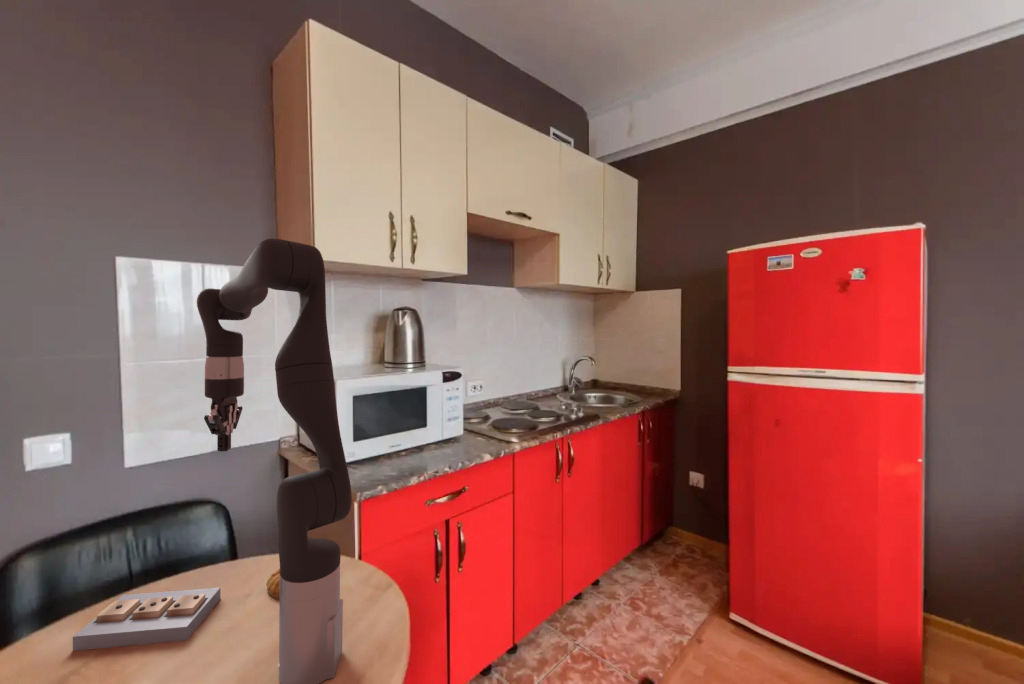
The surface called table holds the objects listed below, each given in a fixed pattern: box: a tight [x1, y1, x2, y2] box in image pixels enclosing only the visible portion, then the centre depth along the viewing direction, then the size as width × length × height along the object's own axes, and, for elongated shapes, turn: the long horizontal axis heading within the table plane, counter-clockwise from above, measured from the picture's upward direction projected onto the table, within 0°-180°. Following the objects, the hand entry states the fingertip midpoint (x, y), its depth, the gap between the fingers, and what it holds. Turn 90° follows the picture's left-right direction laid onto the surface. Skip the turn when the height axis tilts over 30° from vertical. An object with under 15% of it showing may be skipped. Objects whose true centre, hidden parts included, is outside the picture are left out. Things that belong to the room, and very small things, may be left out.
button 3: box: [132, 596, 173, 620], centre depth 81 cm, size 4×4×3 cm
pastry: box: [265, 568, 280, 600], centre depth 92 cm, size 9×7×4 cm
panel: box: [72, 587, 221, 651], centre depth 82 cm, size 18×12×2 cm, turn 100°
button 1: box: [96, 599, 140, 623], centre depth 80 cm, size 4×4×3 cm
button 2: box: [167, 594, 205, 617], centre depth 82 cm, size 4×4×3 cm
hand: (224, 450), depth 98 cm, fingers closed
